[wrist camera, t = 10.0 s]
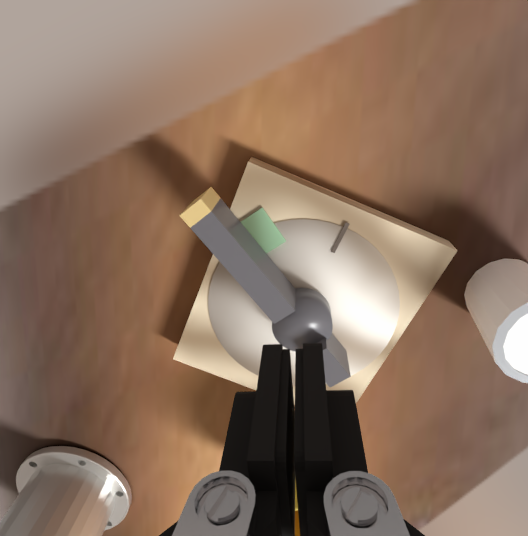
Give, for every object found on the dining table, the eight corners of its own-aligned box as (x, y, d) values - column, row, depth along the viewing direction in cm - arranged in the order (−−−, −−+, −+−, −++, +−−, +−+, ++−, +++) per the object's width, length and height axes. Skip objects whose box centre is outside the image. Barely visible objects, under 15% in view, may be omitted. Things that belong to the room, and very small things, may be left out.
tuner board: (341, 406, 38) (343, 424, 36) (175, 344, 37) (168, 359, 35) (448, 240, 31) (458, 251, 29) (247, 154, 30) (243, 160, 28)
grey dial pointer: (360, 341, 32) (366, 368, 29) (314, 367, 34) (315, 395, 31) (225, 174, 28) (216, 185, 25) (179, 212, 29) (164, 227, 26)
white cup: (456, 256, 32) (496, 300, 25) (554, 245, 31) (620, 288, 24) (455, 332, 34) (490, 389, 28) (544, 324, 33) (601, 381, 27)
